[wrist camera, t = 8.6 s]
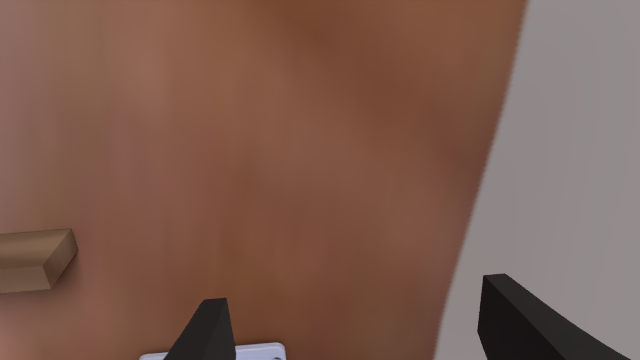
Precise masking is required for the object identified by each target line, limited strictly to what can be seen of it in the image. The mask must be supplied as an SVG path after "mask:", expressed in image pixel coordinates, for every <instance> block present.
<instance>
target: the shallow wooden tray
mask: <svg viewBox="0 0 640 360" xmlns="http://www.w3.org/2000/svg"><path fill="white" fill-rule="evenodd" d="M77 251H78V248H77V245H76V242H75V239H74V236H73V233H72V230H71V229H61V230H49V231H37V232H25V233H13V234H0V293H10V292H21V291H33V290H45V289H51V288H52V287H53V285H54V284H55V282H56V281H57V280H58V278H59V277H60V275H61V274H62V272H63V271H64V270H65V268H66V267H67V265H68V264H69V262H70V261H71V259H72V258H73V257H74V255H75V254H76V252H77Z"/></svg>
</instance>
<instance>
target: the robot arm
mask: <svg viewBox="0 0 640 360" xmlns="http://www.w3.org/2000/svg"><path fill="white" fill-rule="evenodd" d="M477 331H478V335H479V337H480V340H481V343H482V346H483V349H484V352H485V354H486V357H487V360H630V359H629V358H627V357H625V356H623V355H622V354H620V353H618V352H616V351H615V350H613V349H611V348H610V347H608V346H606V345H605V344H603V343H601V342H600V341H598V340H597V339H595V338H594V337H592V336H591V335H589V334H588V333H586V332H585V331H583V330H582V329H580V328H579V327H577V326H576V325H574V324H573V323H571V322H570V321H568V320H567V319H566V318H564V317H563V316H561V315H560V314H559V313H557V312H556V311H554V310H553V309H552V308H550V307H549V306H548V305H546V304H545V303H543V302H542V301H541V300H540V299H538V298H537V297H536V296H534V295H533V294H532V293H530V292H529V291H528V290H526V289H525V288H524V287H522V286H521V285H520V284H518V283H517V282H516V281H515V280H513V279H512V278H510V277H509V276H508V275H506V274H493V275H484V276H483V284H482V293H481V302H480V312H479V321H478V330H477ZM275 357H278V358H279V359H274V358H275ZM139 360H286V353H285V347H284V346H283V345H282V344H280V343H265V344H253V345H242V346H235V343H234V338H233V332H232V326H231V321H230V315H229V310H228V304H227V299H226V298H218V299H207V300H204V301H203V302H202V303H201V304H200V306H199V307H198V309H197V310H196V312H195V314H194V315H193V317H192V318H191V320H190V322H189V323H188V325H187V326H186V328H185V329H184V331H183V332H182V334H181V335H180V337H179V338H178V339H177V341H176V342H175V344H174V345H173V346H172V348H171V349H170V351H169V352H165V353H154V354H145V355H142V356H141V357H140V358H139Z"/></svg>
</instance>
